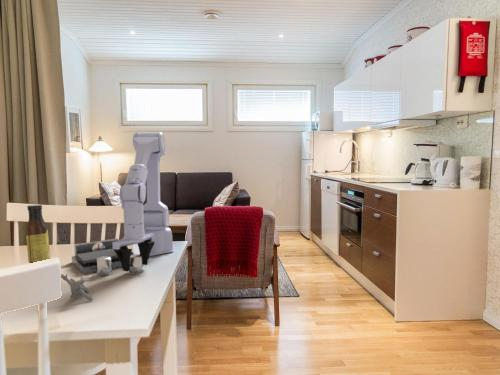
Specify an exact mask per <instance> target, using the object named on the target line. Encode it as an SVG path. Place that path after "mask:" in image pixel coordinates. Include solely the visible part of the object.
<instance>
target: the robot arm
mask: <svg viewBox="0 0 500 375" xmlns="http://www.w3.org/2000/svg"><path fill="white" fill-rule="evenodd" d="M132 145H133V148H134V150H135V156H134V157H135V158H134V164H132V165H130V167H129V170H128V172H127V177H126V180H125V183H124V184H123V185H121V186H120V188H119V199H120V203H121V204H120V205H121V209H122V210H123V228H124V229H123V232H124V236H123V238H121V239H118V241H116V242H112V244H113V249H114V251H115V253H116V254H117V256H118V258H119V260H120V262H121V265H122V267H121V268H122V271H124V272H129V270H130V256H131V252H133V249H132V248H129V247H130V246H133V245H137V247H138V250H139V251H138V252H139V255H142V266H147V265H148V262H149V257H152V256H158V255H163V254H169V253H173V252H174V250H173V248H174V247H173V233H172V230H171V228H170V227H169V224H170V213H169V208H168V206H167V205H166V204H165V203H163V202H162V201H161V158H162V157H163V156H165V152H166V139H165V135H164V133H163V132H162V131H158V132H157V131H155V132H154V131H153V132H150V131H148V132H143V131H141V132H139V131H135V132H134V134H133V136H132ZM145 201H146V203H145ZM144 203H145V204H144Z"/></svg>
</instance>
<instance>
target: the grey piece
mask: <svg viewBox="0 0 500 375" xmlns="http://www.w3.org/2000/svg"><path fill="white" fill-rule="evenodd" d="M60 275H61V276H60V278H61V279H63V280H64V281H66V283H67V284H68V285H69V286H70V292H71V295H70V298H71V299H72V298H73V297H74V296H78V295H82V296H83V297H85V299H86V300H87V301H88V302H93V301H94V298H92V297H93V294H91V295H89V294H87V292H88V290H89V287H87V286H85V283H86V282H87V280H88V279H84V275H82V276H81V277H80V279H79V280H77V281H76V280H75V279H73V278H70V279H69V278H68V273H66V274H63V273H61V274H60Z"/></svg>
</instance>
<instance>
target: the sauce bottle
mask: <svg viewBox="0 0 500 375" xmlns="http://www.w3.org/2000/svg"><path fill="white" fill-rule="evenodd" d="M26 207H27V211H28V221H27V223H26V225H25V231H26V232H25V233H26V234H25V236H26V237H25V238H26V249H27V260H28V264H29V263H33V262H37V261H42V260H46V259H50V260H51V251H50V249H51V248H50V239H49V238H50V237H49V230H48V226H47V223H46V222H45V220H44V217H43V211H42V209H43V205H42V204H38V203H37V204H29V205H27V206H26Z"/></svg>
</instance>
